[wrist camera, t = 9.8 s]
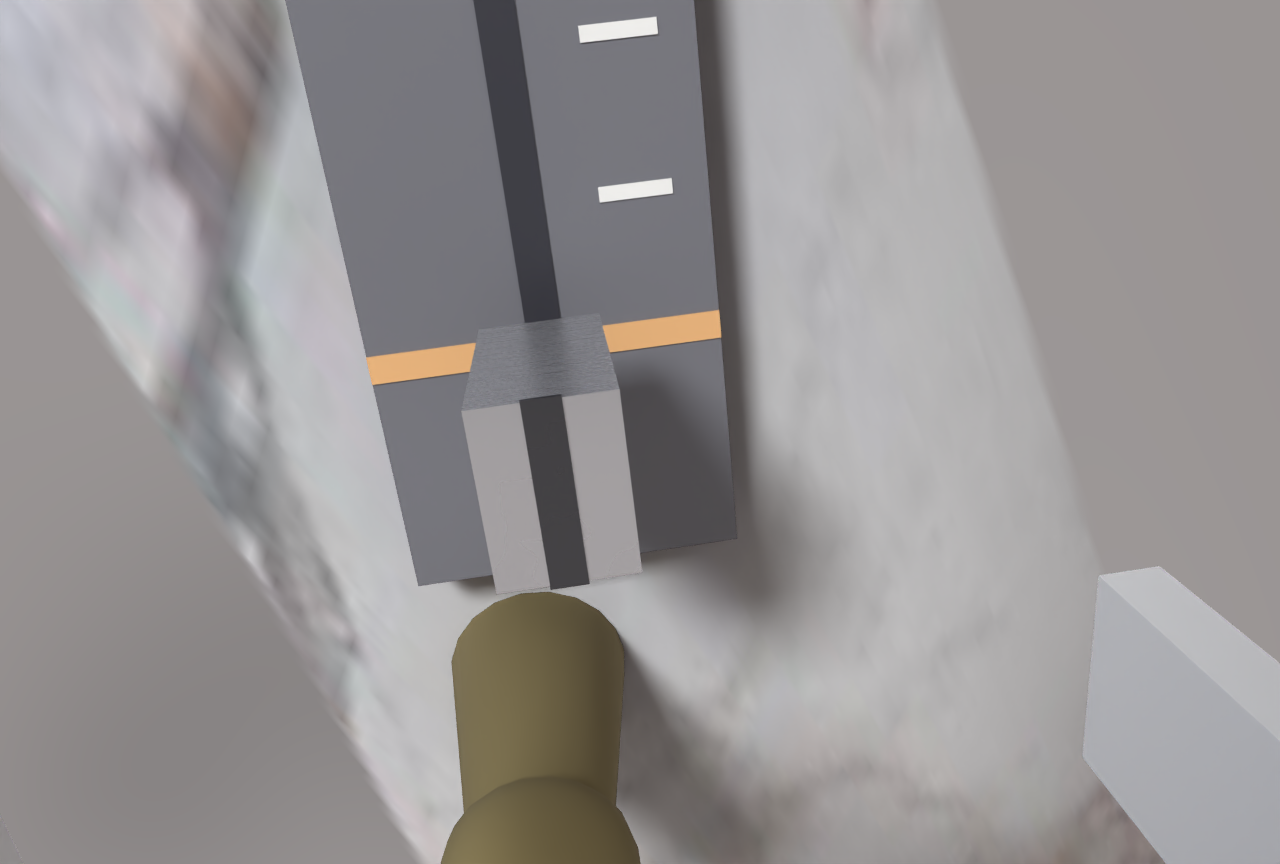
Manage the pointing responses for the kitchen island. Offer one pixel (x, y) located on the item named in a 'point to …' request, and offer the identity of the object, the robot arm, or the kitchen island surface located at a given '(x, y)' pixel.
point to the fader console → (524, 233)
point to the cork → (539, 735)
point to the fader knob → (550, 455)
